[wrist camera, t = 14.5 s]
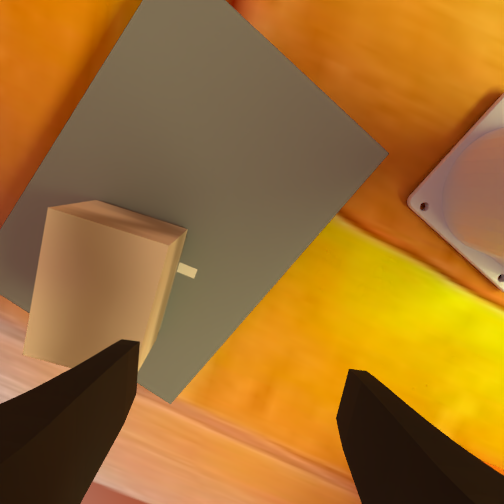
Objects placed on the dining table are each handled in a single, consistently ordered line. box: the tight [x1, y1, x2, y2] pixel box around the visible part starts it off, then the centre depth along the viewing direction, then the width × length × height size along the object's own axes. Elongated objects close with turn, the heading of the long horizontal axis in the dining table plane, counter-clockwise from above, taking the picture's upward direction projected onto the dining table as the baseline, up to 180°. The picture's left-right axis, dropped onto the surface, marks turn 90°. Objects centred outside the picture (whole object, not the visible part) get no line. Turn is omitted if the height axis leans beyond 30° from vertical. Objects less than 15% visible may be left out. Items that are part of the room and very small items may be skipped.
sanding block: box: [23, 200, 188, 371], centre depth 15 cm, size 5×7×4 cm
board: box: [0, 0, 389, 404], centre depth 18 cm, size 14×20×2 cm
